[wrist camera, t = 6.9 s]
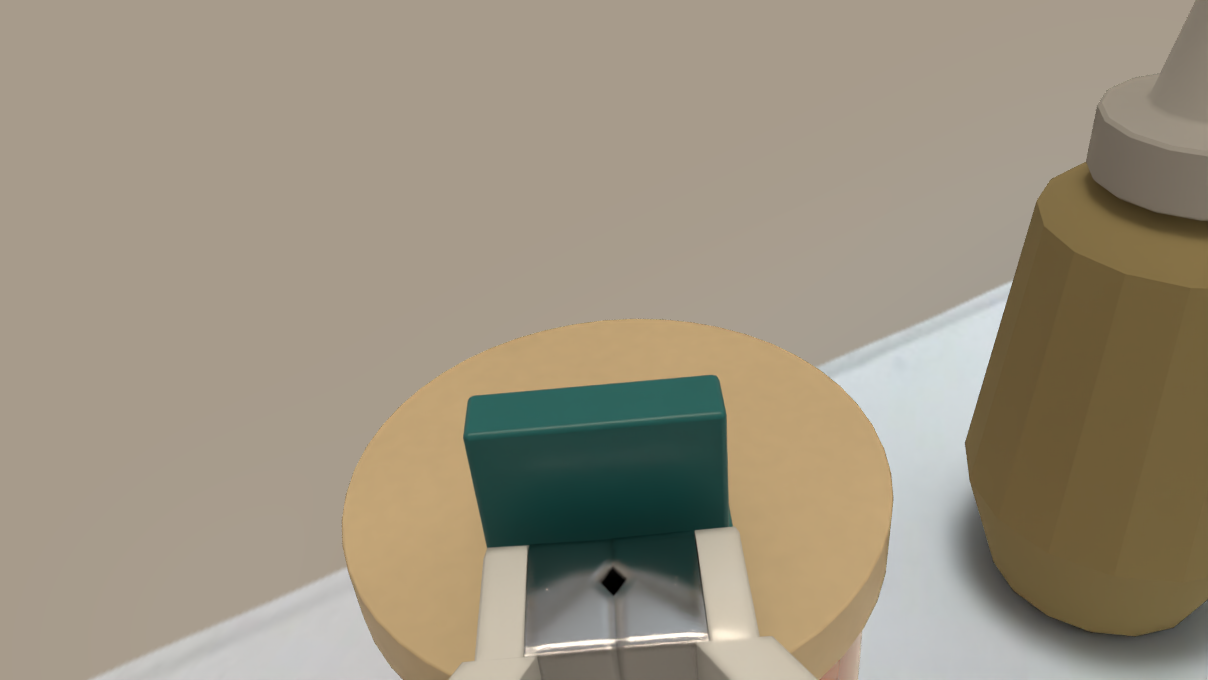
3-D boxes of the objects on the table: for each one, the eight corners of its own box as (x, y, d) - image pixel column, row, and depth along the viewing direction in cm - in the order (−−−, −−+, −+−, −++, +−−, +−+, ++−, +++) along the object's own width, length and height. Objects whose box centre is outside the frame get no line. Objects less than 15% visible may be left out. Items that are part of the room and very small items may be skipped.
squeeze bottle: (967, 448, 35) (1054, -113, 25) (1237, 499, 32) (1462, -114, 22) (932, 629, 29) (1027, -10, 19) (1259, 711, 26) (1583, 8, 16)
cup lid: (395, 383, 22) (384, 338, 22) (824, 345, 22) (827, 299, 22) (307, 780, 15) (284, 731, 14) (963, 729, 14) (973, 675, 14)
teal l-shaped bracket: (506, 481, 17) (463, 258, 15) (719, 464, 17) (712, 235, 15) (492, 682, 14) (434, 439, 12) (755, 661, 14) (754, 411, 11)
